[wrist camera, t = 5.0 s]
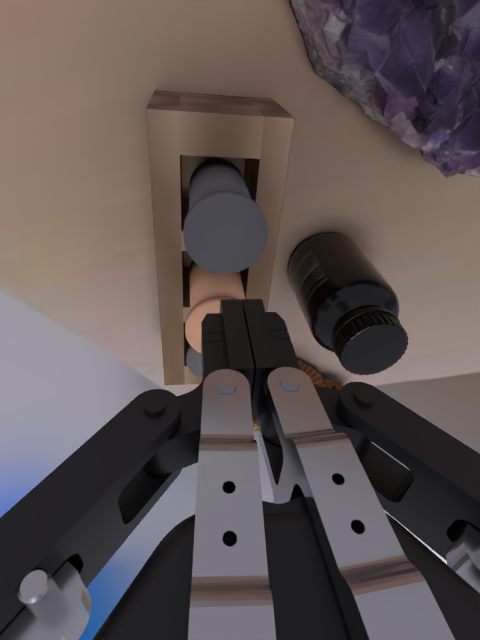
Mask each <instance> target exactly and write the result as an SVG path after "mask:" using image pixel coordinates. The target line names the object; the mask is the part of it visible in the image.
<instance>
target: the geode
mask: <svg viewBox="0 0 480 640" xmlns="http://www.w3.org/2000/svg"><path fill="white" fill-rule="evenodd" d="M289 4H290V6H291V9H292V11H293V14H294V16H295V19H296V22H297V24H298V27H299V30H300V32H301V35H302V37H303V40H304V44H305V47H306V51H307V54H308V57H309V59H310V61H311V63H312V66H313V68H314V70H315V72H316V73H317V74H318V75H320V76H321V77H323V78H324V79H325V80H327V81H328V82H330V83H331V84H332V85H333V86H334V87H335V88H336V89H337V90H338V91H339V92H340V93H341V94H342V95H344V96H347V97H349V98H351V99H353V100H355V101H356V102H357V103H358V104H359V105H361V106H362V108H363V109H364V110H365V114H369V116H370V117H371V118H372V119H373V120H376V121H378V122H381V123H382V125H384V126H388V127H390V130H392V131H395V132H396V133H397V135H398V136H399V137H400V139H401V140H402V141H403V142H404V143H406V144H408V145H409V146H411V147H412V148H415V149H417V150H420V152H421V155H422V157H423V158H424V160H425V161H427V162H429V163H431V164H433V165H435V166H436V167H437V168H438V169H439V170H440V171H441V172H442V173H443V175H444V176H445V177H446V178H447V177H450V176H453V175H456V174H457V173H460V174H464V175H470V176H475V177H479V176H480V0H289Z"/></svg>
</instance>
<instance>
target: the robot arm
mask: <svg viewBox="0 0 480 640" xmlns="http://www.w3.org/2000/svg"><path fill="white" fill-rule="evenodd" d="M201 357H202V379H203V380H202V382H201V383H200V385H199V386H198V387H197V388H195V389H194V390H193V391H191V392H189V393H186V394H183V395H180V396H177V397H176V396H175V395H174V394H173V393H171V392H169V391H166V390H162V389H154V390H149V391H146V392H143V393H142V394H140V395H138V396H137V397H136V398H135V399H134V400H133V401H131V402H130V403H129V404H128V405H127V406H126V407H125V408H124V409H123V410H121V411H120V412H119V413H118V414H117V415H116V416H115V417H113V418H112V419H111V420H110V421H109V422H108V423H107V424H106V425H104V426H103V427H102V428H101V429H100V430H99V431H98V432H97V433H96V434H94V435H93V436H92V437H91V438H90V439H89V440H88V441H86V442H85V443H84V444H83V445H82V446H81V447H80V448H79V449H78V450H76V451H75V452H74V453H73V454H72V455H71V456H70V457H69V458H67V459H66V460H65V461H64V462H63V463H62V464H61V465H59V466H58V467H57V468H56V469H55V470H54V471H53V472H52V473H50V474H49V475H48V476H47V477H46V478H45V479H44V480H43V481H42V482H40V483H39V484H38V485H37V486H36V487H35V488H34V489H33V490H31V491H30V492H29V493H28V494H27V495H26V496H25V497H23V498H22V499H21V500H20V501H19V502H18V503H17V504H16V505H14V506H13V507H12V508H11V509H10V510H9V511H8V512H7V513H5V514H4V515H3V516H2V517H1V518H0V640H78V639H79V638H80V636H81V634H82V633H83V631H84V629H85V627H86V625H87V622H88V620H89V617H90V611H91V600H90V596H89V593H88V591H87V589H86V588H87V587H88V585H89V584H90V583H91V582H92V580H93V579H94V578H95V577H96V576H97V574H98V573H99V572H100V571H101V569H102V568H103V567H104V566H105V565H106V563H107V562H108V561H109V560H110V558H111V557H112V556H113V555H114V554H115V552H116V551H117V550H118V549H119V547H120V546H121V545H122V544H123V543H124V541H125V540H126V539H127V537H128V536H129V535H130V534H131V533H132V531H133V530H134V529H135V528H136V527H137V525H138V524H139V523H140V521H141V520H142V519H143V518H144V517H145V515H146V514H147V513H148V512H149V511H150V509H151V508H152V507H153V506H154V504H155V503H156V502H157V501H158V500H159V498H160V497H161V496H162V495H163V494H164V492H165V491H166V490H167V489H168V487H169V486H170V485H171V484H172V482H173V481H174V480H175V479H176V478H177V476H178V475H179V474H180V472H181V470H182V468H184V467H187V466H189V465H192V464H194V463H197V462H198V477H197V494H196V513H195V515H192V516H191V517H189V518H187V519H185V520H184V521H182V522H181V523H179V524H178V525H177V526H175V527H174V528H173V529H172V530H171V531H170V532H169V533H168V534H167V535H166V536H165V537H164V538H163V540H162V541H161V542H160V543H159V545H158V546H157V547H156V549H155V550H154V552H153V553H152V555H151V556H150V557H149V559H148V560H147V562H146V563H145V565H144V566H143V567H142V569H141V570H140V572H139V573H138V575H137V576H136V578H135V579H134V580H133V582H132V584H131V585H130V586H129V588H128V589H127V591H126V592H125V593H124V595H123V597H122V598H121V599H120V601H119V602H118V604H117V605H116V606H115V608H114V609H113V611H112V612H111V614H110V615H109V617H108V618H107V619H106V621H105V622H104V624H103V625H102V627H101V628H100V629H99V631H98V632H97V634H96V635H95V637H94V638H93V640H480V454H479V453H478V452H476V451H474V450H473V449H471V448H470V447H468V446H466V445H465V444H463V443H462V442H460V441H459V440H457V439H456V438H454V437H452V436H451V435H449V434H448V433H446V432H445V431H443V430H441V429H440V428H438V427H437V426H435V425H433V424H432V423H430V422H429V421H427V420H426V419H424V418H422V417H421V416H419V415H417V414H416V413H415V412H413V411H412V410H410V409H408V408H407V407H405V406H404V405H402V404H400V403H399V402H397V401H396V400H394V399H393V398H391V397H389V396H388V395H386V394H385V393H383V392H381V391H380V390H378V389H377V388H375V387H374V386H372V385H369V384H367V383H363V382H351V383H348V384H346V385H345V386H343V388H342V389H341V391H338V390H333V389H329V388H324V387H321V386H318V385H316V384H314V383H312V381H311V379H310V378H309V376H308V375H307V374H306V373H304V372H303V371H301V370H300V367H299V364H298V361H297V358H296V355H295V352H294V349H293V346H292V343H291V341H290V336H289V333H288V330H287V327H286V324H285V321H284V320H283V319H282V318H281V317H280V316H279V315H278V314H277V313H276V312H265V308H264V305H263V301H262V299H221V300H220V313H207V314H206V316H205V317H204V319H203V321H202V322H201ZM252 418H259V422H260V431H259V441H260V444H261V448H262V452H263V455H264V460H265V463H266V467H267V471H268V475H269V479H270V482H271V486H272V490H273V496H274V503H270V502H265V501H262V495H261V483H260V471H259V459H258V448H257V442H256V440H254V436H253V423H252ZM372 442H374V443H375V444H376V445H378V446H379V447H380V448H382V449H383V450H385V451H386V452H388V453H389V454H390V455H392V456H393V457H394V458H396V459H397V460H398V461H400V462H401V463H403V464H404V465H405V466H406V467H408V468H409V469H410V470H408V469H407V468H405V467H404V466H402V465H401V464H399V463H398V462H397V461H396V460H394V459H393V458H391V457H390V456H389V455H387V454H386V453H384V452H383V451H382V450H380V449H379V448H378V447H376V446H375V445H374V444H372ZM383 509H384V510H386V511H387V512H388V513H389V514H390V515H391V516H393V517H394V518H395V519H396V520H398V521H399V522H400V523H401V524H402V525H404V526H405V527H406V528H407V529H409V530H410V531H411V532H412V533H413V534H415V535H416V536H417V537H418V538H420V539H421V540H422V541H423V542H425V543H426V544H427V545H428V546H429V547H431V548H432V549H433V550H434V551H435V552H437V553H438V554H439V555H440V556H442V557H443V558H444V559H445V560H446V561H447V564H445V563H444V562H443V561H442V560H441V559H440V558H439V557H437V556H436V555H435V554H434V553H433V552H431V551H430V550H429V549H428V548H427V547H426V546H425V545H424V544H422V543H421V542H420V541H419V540H418V539H417V538H415V537H414V536H413V535H412V534H411V533H410V532H409V531H407V530H406V529H405V528H404V527H403V526H402V525H400V524H399V523H398V522H397V521H396V520H394V519H393V518H392V517H390V516H389V515H388V514H386V513H385V512H384V510H383Z"/></svg>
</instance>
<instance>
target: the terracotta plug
mask: <svg viewBox="0 0 480 640" xmlns="http://www.w3.org/2000/svg"><path fill="white" fill-rule="evenodd" d="M221 299H245V295H244V290H243V285H242V281H241V276H240V271H239V272H236V273H230V274H219V273H214V272H210V271H208V270H205V269H203V268H202V267H200V266H199V265H198V264H196V263H195V262H194V261H193V260H192V261H191V264H190V311H189V313H188V315H187V317H186V321H185V335H186V339H187V341H188V343H189V344H190V346H191V347H192V348H193V349H195V350H196V351H197V352H199V353H201V322H202V321H203V319H204V317H205V316H206V314H207V313H220V300H221Z"/></svg>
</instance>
